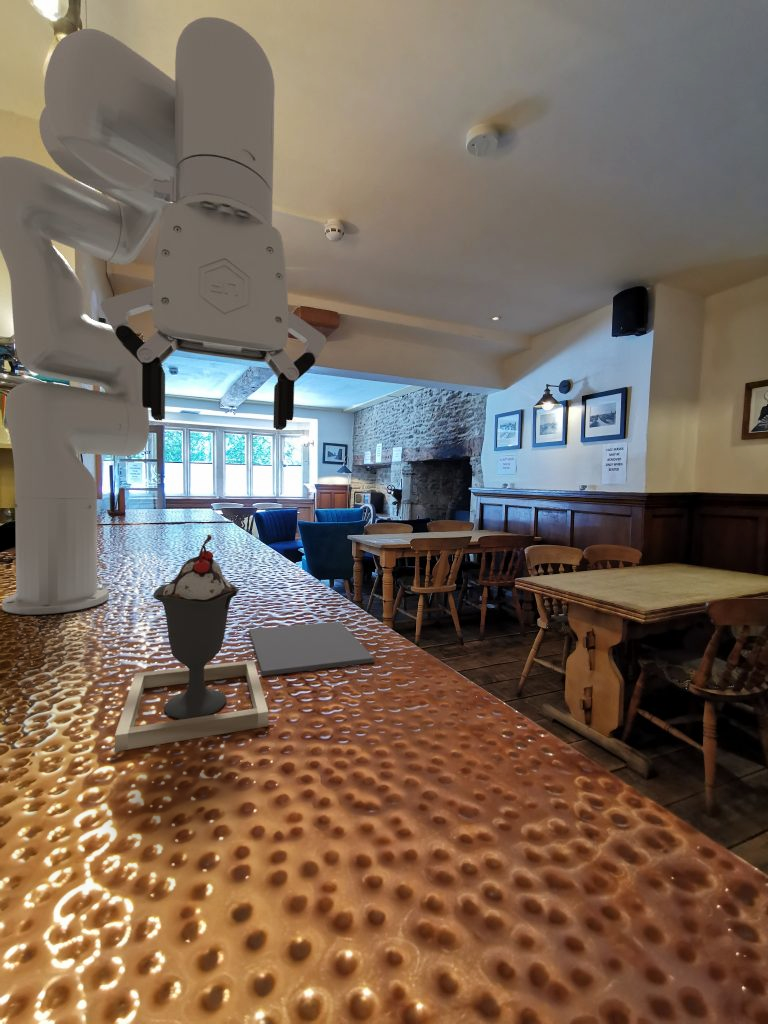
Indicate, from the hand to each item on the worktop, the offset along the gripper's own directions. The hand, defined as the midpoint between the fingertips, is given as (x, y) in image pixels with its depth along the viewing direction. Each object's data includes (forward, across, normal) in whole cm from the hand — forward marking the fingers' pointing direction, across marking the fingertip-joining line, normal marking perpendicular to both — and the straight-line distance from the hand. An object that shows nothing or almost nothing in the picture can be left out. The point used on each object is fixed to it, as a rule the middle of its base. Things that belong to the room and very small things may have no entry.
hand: (221, 423), depth 37 cm
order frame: (+24, -2, 0) cm, 24 cm away
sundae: (+24, -2, 0) cm, 24 cm away
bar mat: (+24, +10, +11) cm, 28 cm away
